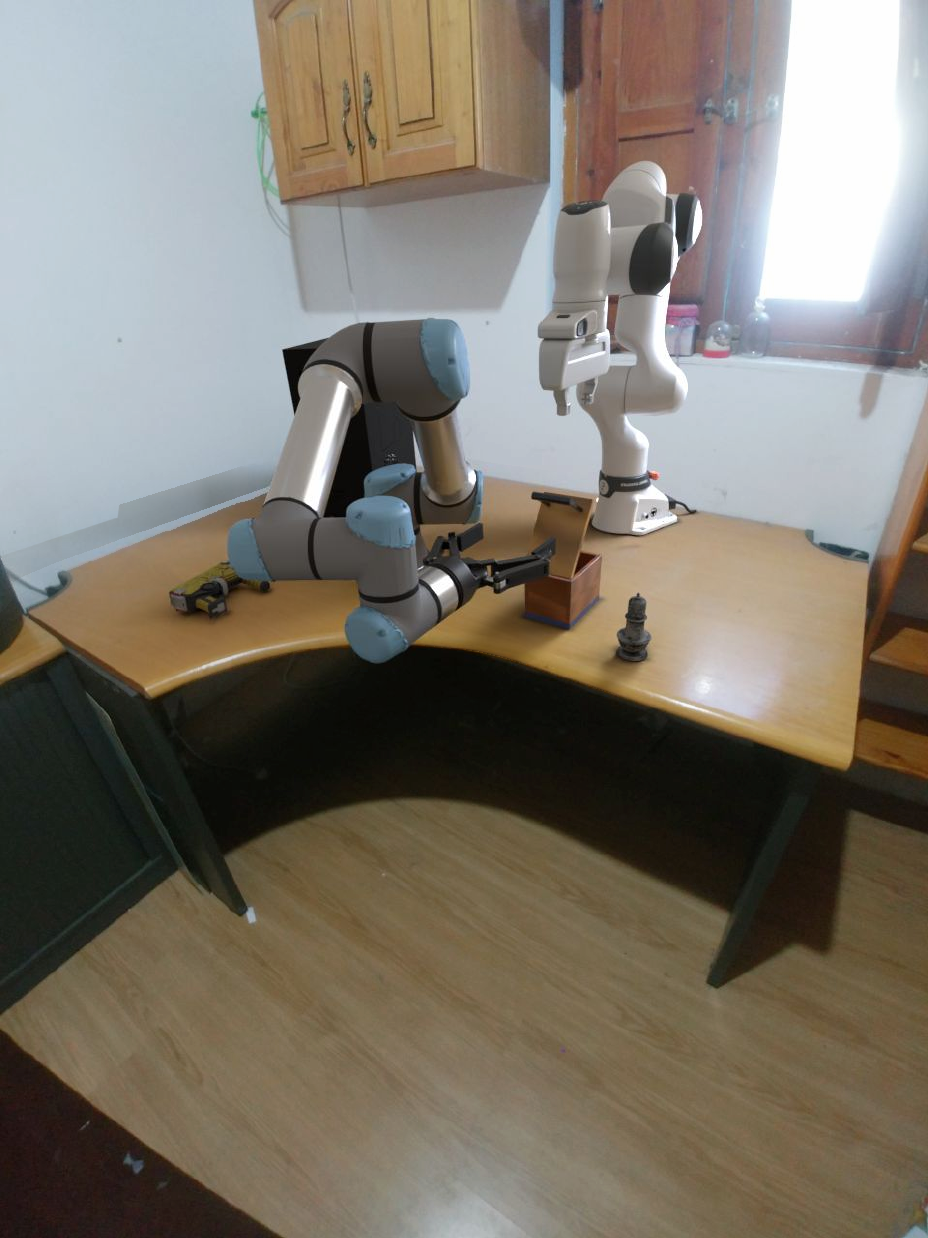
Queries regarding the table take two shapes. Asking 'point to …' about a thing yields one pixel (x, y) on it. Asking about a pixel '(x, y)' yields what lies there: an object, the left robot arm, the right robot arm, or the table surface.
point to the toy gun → (210, 590)
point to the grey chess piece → (634, 631)
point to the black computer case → (357, 437)
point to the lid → (561, 529)
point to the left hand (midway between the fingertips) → (516, 537)
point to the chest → (565, 593)
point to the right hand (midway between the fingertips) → (575, 409)
